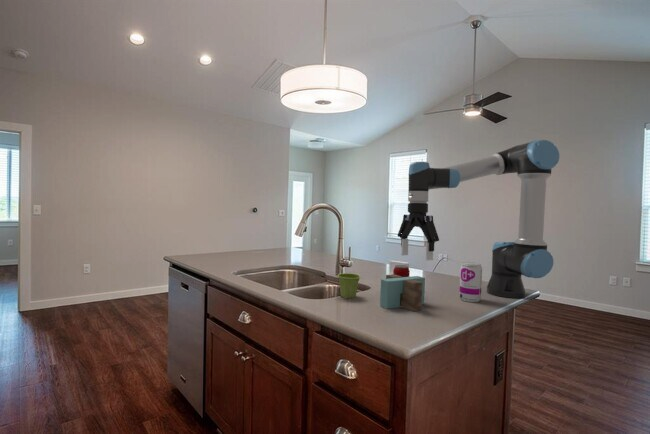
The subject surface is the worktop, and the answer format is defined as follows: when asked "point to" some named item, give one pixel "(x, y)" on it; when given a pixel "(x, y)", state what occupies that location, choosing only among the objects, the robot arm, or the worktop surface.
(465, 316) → the worktop surface
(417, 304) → the brown wooden notched block
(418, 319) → the worktop surface
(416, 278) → the teal tunnel brick
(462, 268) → the supplement can
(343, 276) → the plant pot
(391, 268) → the cylinder with rectangular tab
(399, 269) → the beverage can
